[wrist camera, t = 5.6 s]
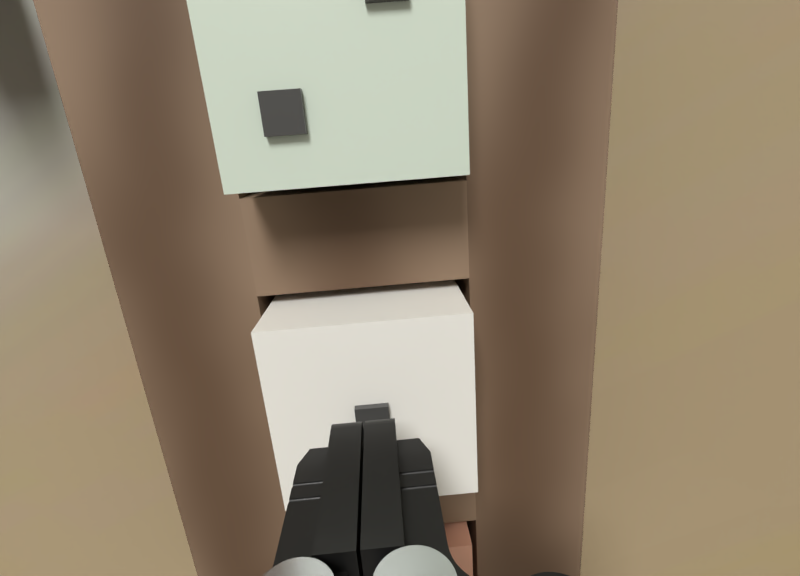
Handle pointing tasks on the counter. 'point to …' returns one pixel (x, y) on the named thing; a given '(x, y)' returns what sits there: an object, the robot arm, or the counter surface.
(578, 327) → the console
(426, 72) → the two dot button
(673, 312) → the counter surface
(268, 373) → the one dot button
